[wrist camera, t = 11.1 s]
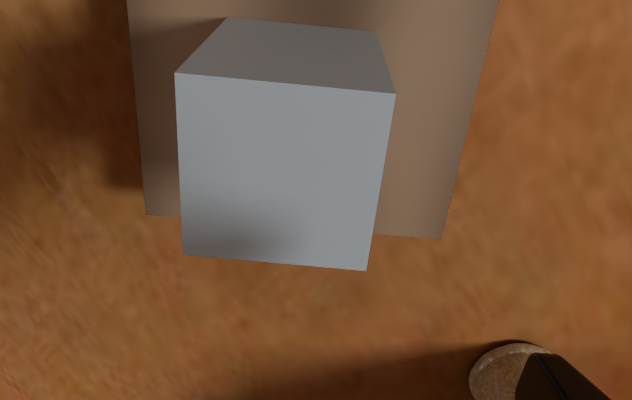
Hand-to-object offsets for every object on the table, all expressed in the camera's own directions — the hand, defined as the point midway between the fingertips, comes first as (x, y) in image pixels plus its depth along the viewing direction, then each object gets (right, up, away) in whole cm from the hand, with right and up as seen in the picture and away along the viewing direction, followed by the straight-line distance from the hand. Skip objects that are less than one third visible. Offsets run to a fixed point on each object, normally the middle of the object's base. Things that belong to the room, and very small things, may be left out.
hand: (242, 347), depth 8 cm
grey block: (+1, +6, +9) cm, 10 cm away
